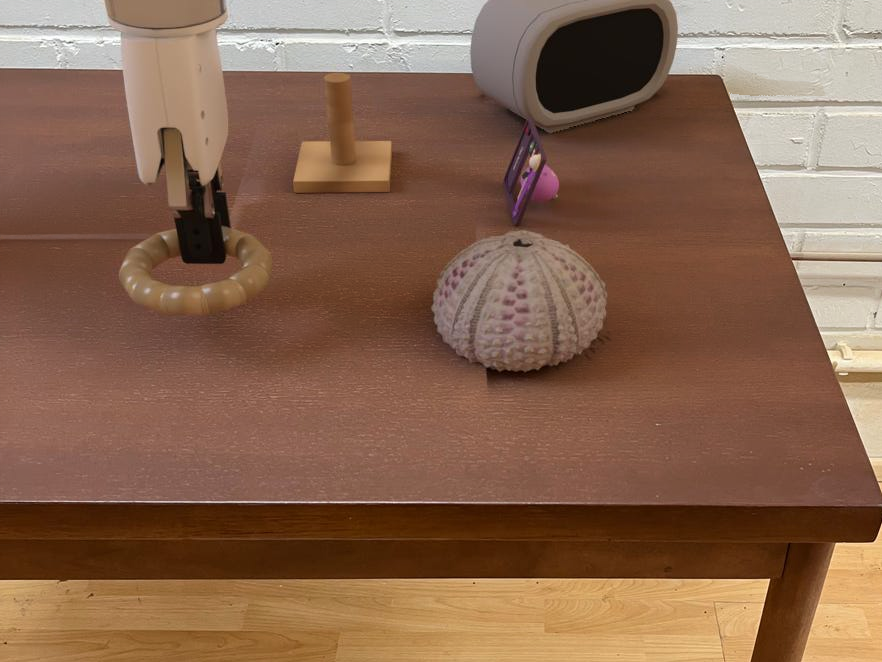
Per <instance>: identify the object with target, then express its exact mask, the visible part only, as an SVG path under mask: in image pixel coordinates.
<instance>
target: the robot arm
mask: <svg viewBox="0 0 882 662" xmlns="http://www.w3.org/2000/svg"><path fill="white" fill-rule="evenodd" d="M103 1H104V6H105V10H106V14H107V19H108V24H109V25H110V27H111V28H113V29H114V30H115V31H117V32H119V33H120V53H121V54H120V55H121V64H122V65H121V66H122V76H123V83H124V92H125V100H126V106H127V113H128V119H129V126H130V131H131V138H132V144H133V151H134V157H135V162H136V168H137V173H138V178H139V180H140V181H141V182H142V184H144V185H145V186H151V185H152V184H156V183H157V180H158V178H159V176H160V173H161V171H162V169H163V167H164V172H165V177H166V187H167V188H166V189H167V201H168V208H169V210H170V211H171V212H172V216H173V219H174V224H175V229H176V231H177V236H178V241H179V247H180V252H181V256H180V257H181V261H182V262H183V263H184V264H187V265H223V264H225V262H226V259H227V255H226V252H225V245H224V239H223V232H222V226H225V227H229V228H232V225H231V218H230V213H229V206H228V199H227V192H223V191H224V186H225V185H224V176H223V170H222V163H221V162H222V161H221V159H222V156H223V153H224V150H225V147H226V143H227V140H228V135H229V113H228V103H227V94H226V86H225V81H224V74H223V66H222V60H221V54H220V48H219V43H218V38H217V37H218V36H217V35H218V34H217V33H218V32H217V30H216V29H217V28H219V27H221V26H223V25H224V24H225V23H226V22H227V21H228V18H229V15H228V8H227V0H103Z"/></svg>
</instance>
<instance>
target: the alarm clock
mask: <svg viewBox="0 0 882 662" xmlns="http://www.w3.org/2000/svg"><path fill="white" fill-rule="evenodd" d="M678 32H679V25H678V15H677V11H676V9H675V7H674V5H673V3H672V1H671V0H487V1H486V2H485V3H484V4H483V6H482V8H481V9H480V11H479V13H478V15H477V17H476V19H475V22H474V25H473V30H472V33H471V38H470V51H469V54H470V67H471V68H470V69H471V73H472V76H473V80H474V82H475V85H476V86H477V88H478V89H479V91H480V92H481V93H482V94H483V95H485V96H487V97H488V98H490V99H491V100H494V101H495V102H497V103H499V104H500V105H502V106H504V107H506V108H507V109H509V111H511V112H513V113H514V114H516V115H517V116H519V117H521V118H523V119H524V120H526V121H527V118H528V117H530V118H533V121H534V124H535V127H538V128H540V129H541V130H543V129H544V130H543V131H545V132H547V133H549V134H553V132H554V133H556V131H557V132H560V130H561V131H565V130H568V129H570V128H569V127H572V128H574V127H573V126H576V127H578V126H577V125H579V126H581V125H580V124H583V125H585V124H584V123H587V122H590V123H592V122H591V121H594V122H596V121H595V120H597V119H601V118H603V117H607V116H611V115H614V114H618V113H622V112H626V111H629V110H633V109H634V110H635V106H636V105H639V104H642V103H643V102H646V101H647V100H650V99H651V98H652V97H653V96H654V95H655V94H656V92H658V91H659V90H660V89H661V88H662V87H663V84H664V82H665V81H666V79H667V78H668V76H669V74H670V71H671V68H672V65H673V63H674V60H675V56H676V52H677V51H676V50H677V45H678V36H679V35H678ZM587 124H588V123H587ZM564 129H565V130H564Z"/></svg>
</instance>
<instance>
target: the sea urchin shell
mask: <svg viewBox="0 0 882 662" xmlns="http://www.w3.org/2000/svg"><path fill="white" fill-rule="evenodd" d="M436 284H437V285H436V288H435V289H434V292H433V296H432V299H433V303H432V305H431V306H430V308H431V311H432V312H433V314H434V316H433V322H434V324H435V325H436V326H437V329H436V330H437V332H438V333H439V334H440V335H441V336H442V341H443V343H445V344H447V345H449V346H450V348H452V349H453V350H455V352H456V355H457V356H459V357H463V358H466V359H468V360H469V363H471V364H474V363H480V364H483V366H484V367H485V368H490V369H491V370H496V371H498V372H500V373H501V372H502V371H505V370H507V371H513V372H519V371H523V372H524V373H526V372H529V371H533V370H534V369H535V370H536V371H539V370H540V369H541V368H542V367H544V366H549V367H553V366H558V364H559V363H566V362H567V361H568V360H572V359H573V356H574V355H581V354H582V352H583V350H585V349H588V348H589V347H590V345H591V342H592V341H594V340H596V339H597V338H598V333H599V332H600V331H601V330H603V328H604V320H605V318H607V311H606V306H607V298H608V295H609V294H608V292H607V291H606V289H605V288H606V283H605V281H603V280H602V279H601V278H600V274H599V273H597V271H596V270H595V268H594V267H593V266H592V265H591V264H590V263H589V262H588V261H586V260H585V258H584V257H583V256H581V255H580V254H578V253H577V251H576V250H575V249H571V247H570V245H569V244H563V243H561V242H560V241H558V240H554V239H550V238H548V237H547V236H544V235H542V234H541V232H540V233H537V232H536V231H535V232H534V231H529V230H526V229H525V230H524V229H521V230H520V229H519V230H516V231H514V230H510V231H507V232H505V234H501V235H497V236H495V235H494V236H493V235H491V236H490V237H488V238H485V237H483V238H482V239H481V240H479V241H477V240H476V241H474V242H473V243H472V244H470V245H469V246H467V247H466V248H464V249H462V250H461V251H460V252H459V253H458V254H456V255H455V256H454V257H453V258H452V259H451V260H450V261H449V262H448V263H447V264H446V265H445V267H444V269H442V270H441V272H440V275H439V278H437V279H436Z"/></svg>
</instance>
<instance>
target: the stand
mask: <svg viewBox="0 0 882 662" xmlns="http://www.w3.org/2000/svg"><path fill="white" fill-rule="evenodd" d="M323 82H324V84H323V85H324V92H325V94H324V95H325V105H326V115H327V126H328V136H329V141H327V140H324V141H323V140H322V141H321V140H320V141H318V140H317V141H311V140H309V141H301V143H300V144H301V145H300V148H299V153H298V158H297V162H296V167H295V170H294V171H295V172H294V176H293V181H292V183H293V191H294V193H295V194H315V193H316V194H318V193H319V194H321V193H323V194H324V193H327V194H328V193H329V194H331V193H332V194H333V193H334V194H335V193H390V192H391V176H392V159H393V158H392V157H393V144H392V143H393V142H392V140H359V141H358V140H356V138H355V137H356V135H355V122H354V110H353V109H354V108H353V97H352V96H353V95H352V84H351V83H352V82H351V76H350V75H349V74H348V73H345V72H330V73H328V74H326V75H325V76H324V77H323Z"/></svg>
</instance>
